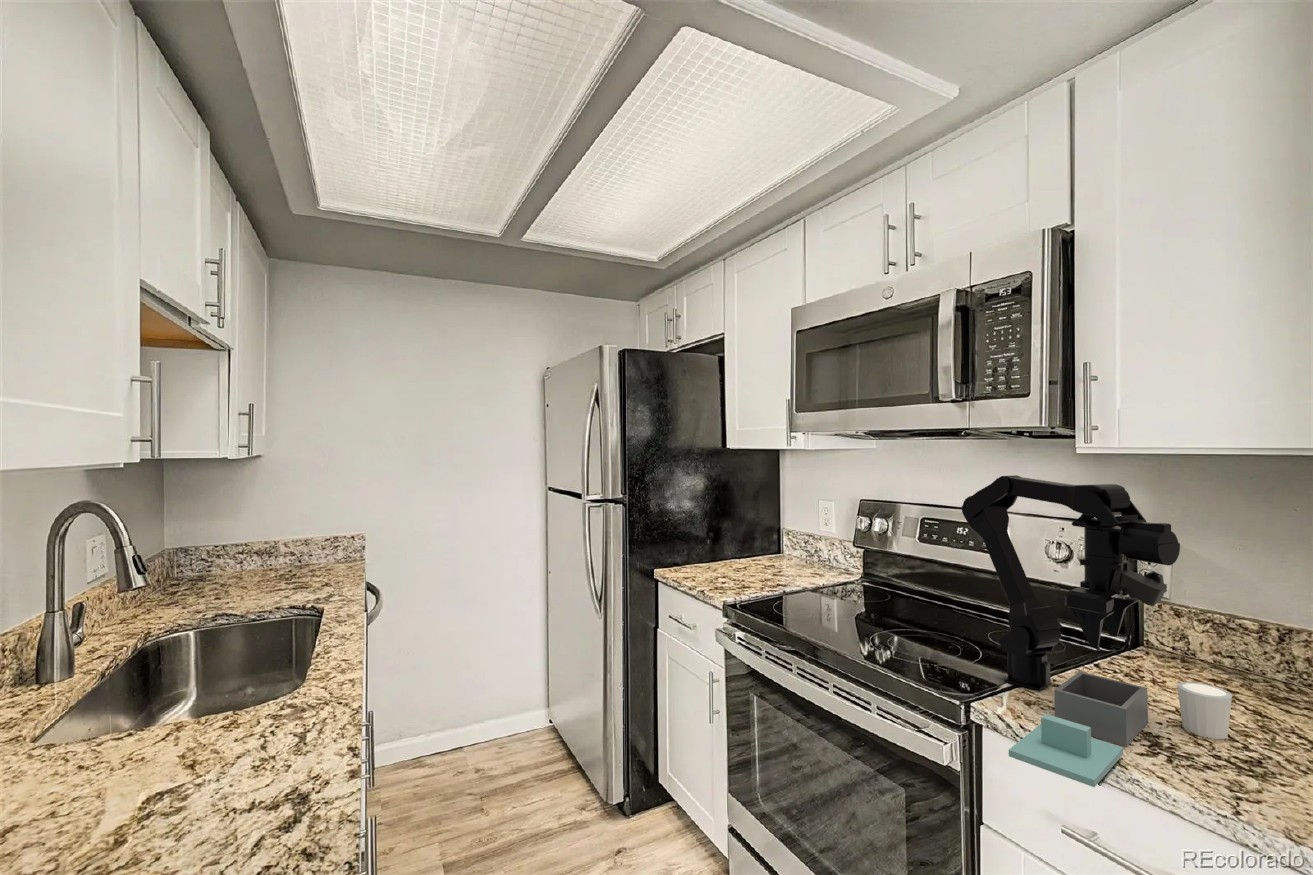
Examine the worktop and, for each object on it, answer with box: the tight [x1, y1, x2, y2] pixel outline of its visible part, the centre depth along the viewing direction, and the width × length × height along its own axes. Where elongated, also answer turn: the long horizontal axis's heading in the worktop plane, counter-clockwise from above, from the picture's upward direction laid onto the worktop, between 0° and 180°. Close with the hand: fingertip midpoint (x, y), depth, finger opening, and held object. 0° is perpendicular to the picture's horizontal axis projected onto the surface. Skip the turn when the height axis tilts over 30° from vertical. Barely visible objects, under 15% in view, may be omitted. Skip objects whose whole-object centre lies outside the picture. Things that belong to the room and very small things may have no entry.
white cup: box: [1176, 681, 1233, 740], centre depth 101 cm, size 7×7×7 cm
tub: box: [1053, 671, 1149, 748], centre depth 104 cm, size 10×13×6 cm
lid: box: [1008, 713, 1124, 788], centre depth 93 cm, size 11×14×6 cm
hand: (1104, 641), depth 108 cm, fingers open, 9 cm apart
